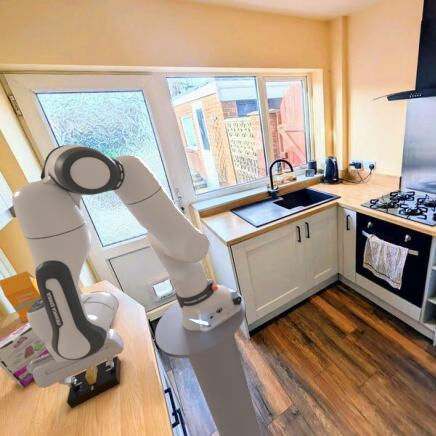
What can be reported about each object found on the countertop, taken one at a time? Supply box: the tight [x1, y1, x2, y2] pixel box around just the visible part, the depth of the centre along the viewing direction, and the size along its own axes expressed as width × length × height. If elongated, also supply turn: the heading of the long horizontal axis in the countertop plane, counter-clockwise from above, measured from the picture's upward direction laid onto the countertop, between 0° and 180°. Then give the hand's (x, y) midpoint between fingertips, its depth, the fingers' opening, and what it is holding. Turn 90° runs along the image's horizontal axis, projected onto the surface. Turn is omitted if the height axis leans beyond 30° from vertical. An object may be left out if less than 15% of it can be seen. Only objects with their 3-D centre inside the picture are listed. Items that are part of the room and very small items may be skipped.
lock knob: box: [85, 365, 98, 385], centre depth 74 cm, size 5×1×4 cm, turn 31°
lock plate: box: [66, 355, 122, 409], centre depth 76 cm, size 12×9×3 cm
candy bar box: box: [0, 322, 49, 388], centre depth 80 cm, size 11×5×16 cm, turn 161°
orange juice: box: [0, 270, 41, 323], centre depth 106 cm, size 8×9×20 cm
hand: (93, 375), depth 75 cm, fingers open, 8 cm apart
